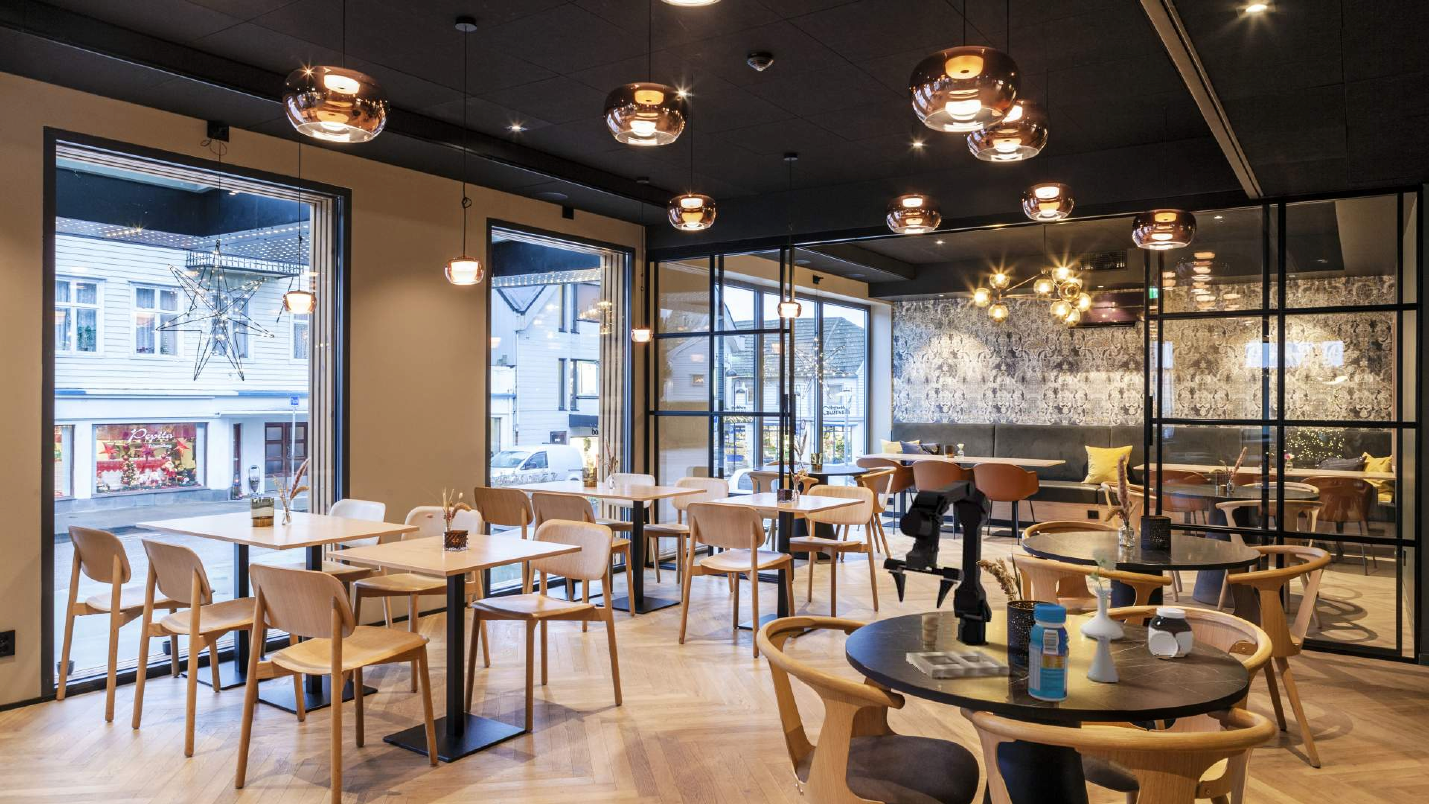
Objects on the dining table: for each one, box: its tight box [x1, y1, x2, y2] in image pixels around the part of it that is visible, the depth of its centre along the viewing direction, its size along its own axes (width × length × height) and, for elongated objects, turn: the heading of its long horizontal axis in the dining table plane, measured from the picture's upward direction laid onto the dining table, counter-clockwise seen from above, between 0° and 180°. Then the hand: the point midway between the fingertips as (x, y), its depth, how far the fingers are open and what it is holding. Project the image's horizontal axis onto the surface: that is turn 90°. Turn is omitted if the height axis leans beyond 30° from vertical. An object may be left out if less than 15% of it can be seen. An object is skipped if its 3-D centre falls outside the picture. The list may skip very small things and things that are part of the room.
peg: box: [921, 614, 939, 653], centre depth 241 cm, size 4×4×9 cm
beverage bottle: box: [1027, 602, 1070, 702], centre depth 206 cm, size 8×8×20 cm
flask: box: [1086, 636, 1120, 684], centre depth 220 cm, size 7×7×10 cm
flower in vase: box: [1079, 546, 1125, 640], centre depth 261 cm, size 13×11×25 cm
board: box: [906, 650, 1010, 679], centre depth 226 cm, size 20×14×2 cm
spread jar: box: [1147, 606, 1194, 657], centre depth 243 cm, size 12×11×12 cm
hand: (919, 605), depth 226 cm, fingers open, 9 cm apart
